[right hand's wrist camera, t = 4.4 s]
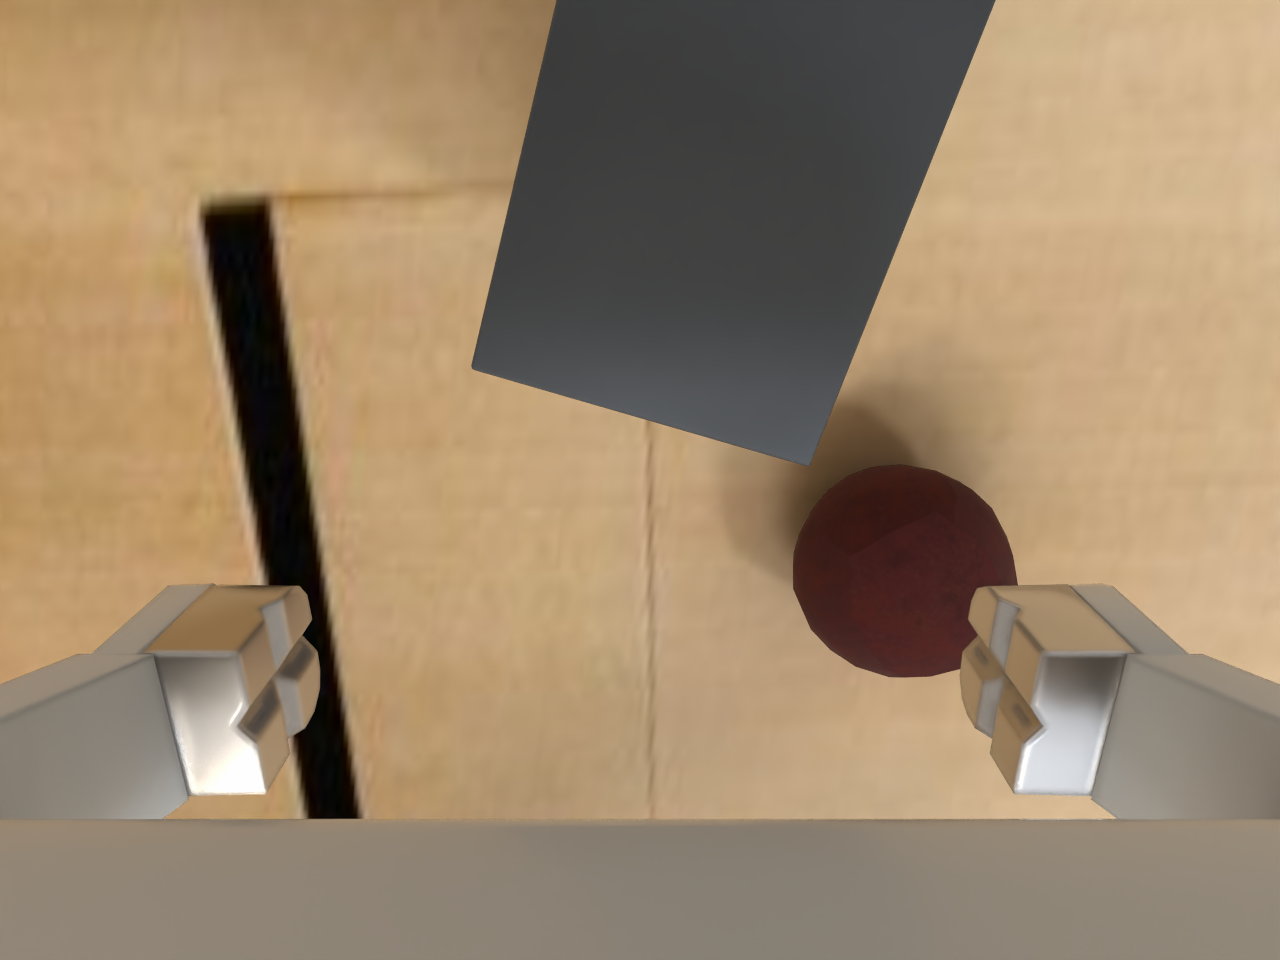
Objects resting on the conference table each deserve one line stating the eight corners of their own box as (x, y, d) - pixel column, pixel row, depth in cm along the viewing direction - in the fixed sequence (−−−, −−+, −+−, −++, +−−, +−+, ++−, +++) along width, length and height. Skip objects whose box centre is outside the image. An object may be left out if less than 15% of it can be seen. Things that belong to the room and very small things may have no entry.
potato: (923, 404, 30) (1003, 471, 24) (997, 568, 33) (1088, 669, 26) (745, 495, 32) (773, 582, 25) (829, 647, 34) (875, 762, 28)
